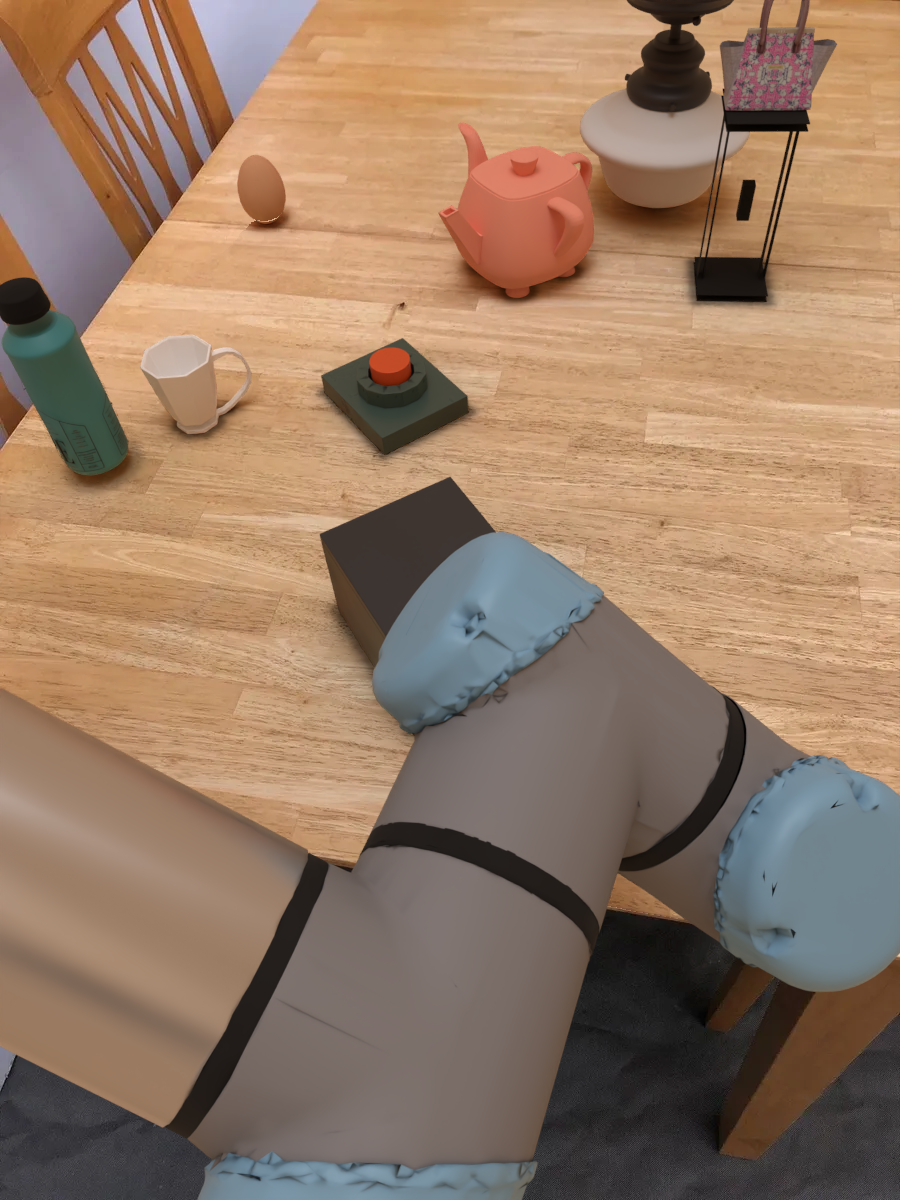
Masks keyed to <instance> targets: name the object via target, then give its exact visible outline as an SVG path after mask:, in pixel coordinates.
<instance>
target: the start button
mask: <svg viewBox="0 0 900 1200" xmlns="http://www.w3.org/2000/svg"><path fill="white" fill-rule="evenodd" d="M369 364H370V370H371V377H372V380H373V381H374V382H375V383H376V384H380V385H383V386H393V385H400V384H402V383H404V382H406V381H408V380H409V378H410V377H411V363H410V356H409V354H408V353H407V352H406V351H404V350H402V349H400V348H393V347H391V348H384V349H381V350H378V351H377V352H375V353H374V354H373V355H372V356H371V358H370V360H369Z"/></svg>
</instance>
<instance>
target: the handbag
mask: <svg viewBox="0 0 900 1200" xmlns="http://www.w3.org/2000/svg"><path fill="white" fill-rule="evenodd" d="M774 1H775V0H763V5H762V9H761V14H760V21H759V27H748V28H747V31H746V32H747V33H746V35H745V37H744V40H743V41H741V40H740V41H739V40H724V41H721V43H720V45H719V53H720V59H721V60H720V61H721V70H722V80H723V88H722V95H723V96H721V97H722V104H723V111H724V116H723V122H722V127H721V133H720V139H719V145H718V151H717V157H716V162H715V168H714V174H713V180H712V183H711V185H710V186H711V187H710V191H709V197H708V198H709V199H708V204H707V210H706V216H705V223H704V228H703V233H702V239H701V245H700V250H699V256H694V261H693V273H694V284H695V296H696V298H695V299H696V301H697V302H747V303H748V302H752V303H753V302H754V303H755V302H756V303H766V302H768V301H767V297H769V294H768V293H769V292H768V288H767V282H766V274H767V270H768V268H769V267H768V266H769V262H770V259H771V253H772V249H773V246H774V241H775V240H774V239H775V237H776V232H777V229H778V224H779V219H780V216H781V212H782V208H783V203H784V200H785V195H786V191H787V188H788V187H787V186H788V183H789V177H790V175H791V170H792V166H793V161H794V157H795V152H796V149H797V144H798V141H799V136H800V133H801V132H802V133H803V132H805V133H807V132H809V128H808V125H811V120H810V117H809V114H808V111H810V110H811V109H812V102H813V100H812V99H813V98H812V97H813V93H814V90H815V88H816V87H817V84H818V82H819V80H820V78H821V76H822V74H823V73H824V70H825V68H826V66H827V65H828V63H829V61H830V59H831V57H832V55H833V53H834V52H835V50H836V47H837V46H838V43H837V42H836V41H835V40H834V39H831V38H825V39H816V40H815V32H816V28H815V27H814V26H806V24H807V20H808V15H809V11H810V3H811V2H810V1H811V0H801V2H800V8H799V13H798V17H797V21H796V24H795V26H787V27H785V26H784V27H780V26H779V27H768V26H769V19H770V15H771V11H772V7H773V4H774ZM724 123H725V126H726V132H727V137H726V142H725V148H724V154H723V159H722V165H721V167H720V170H719V171H720V172H719V177H718V182H717V187H716V194H715V198H714V199H715V200H714V205H713V209H712V216H711V222H710V227H709V233H708V240H707V244H706V250H705V255H704V256H703V251H704V243H705V239H706V232H707V227H708V221H709V214H710V210H711V205H712V199H713V198H712V197H713V191H714V188H715V187H714V186H715V181H716V180H715V179H716V177H715V175H716V169H717V163H718V158H719V152H720V146H721V140H722V135H723V129H724ZM730 132H750V133H782V132H783V133H788V137H787V141H786V146H785V151H784V155H783V159H782V164H781V168H780V172H779V177H778V180H777V185H776V188H775V189H776V190H775V194H774V199H773V202H772V206H771V211H770V216H769V221H768V224H767V230H766V233H765V238H764V241H763V246H762V251H761V255H760V257H747V256H746V257H744V256H743V257H742V256H741V257H739V256H738V257H737V256H736V257H735V256H733V257H732V256H708V255H709V251H710V250H709V249H710V245H711V239H712V232H713V228H714V222H715V216H716V211H717V204H718V200H719V194H720V189H721V182H722V177H723V171H724V166H725V161H726V160H725V155H726V150H727V144H728V139H729V133H730ZM794 132H795V134H794ZM793 134H794V139H793V143H792V148H791V151H790V146H791V142H792V138H793ZM789 151H790V155H789ZM788 155H789V160H788ZM787 161H788V165H787V169H786V172H785V168H786V164H787ZM784 173H785V177H783V176H784ZM716 176H717V175H716ZM783 178H784V181H783ZM782 181H783V186H782ZM781 186H782V190H781ZM756 188H757V184H756V180H755V179H742V181H741V187H740V193H739V198H738V203H737V208H736V212H735V218H736V221H737V222H749V221H750V216H751V212H752V207H753V202H754V198H755V193H756ZM780 190H781V194H780ZM779 194H780V199H779ZM778 199H779V203H778ZM777 203H778V206H777ZM776 207H777V211H776ZM775 211H776V216H775ZM774 216H775V220H774ZM773 220H774V224H773ZM772 224H773V227H772ZM771 228H772V234H771V237H770V233H771ZM769 237H770V241H769ZM768 241H769V245H768ZM767 245H768V250H767ZM766 250H767V254H766ZM765 254H766V258H765ZM764 258H765V262H764Z"/></svg>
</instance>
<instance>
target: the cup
mask: <svg viewBox="0 0 900 1200" xmlns="http://www.w3.org/2000/svg"><path fill="white" fill-rule="evenodd" d="M226 355H232V356H233V357H236V358H237V359H239V360H241V361H242V363H243V365H244V367H245V370H246V375H245V376H246V377H245V380H244V382H243V384H242V385H241V386H240V388H239V389H238V390H237V392H236V393H235V394H234V395H233V396H232V398H231V399H229V401H227V402H226V403H225V404H224V405H223V406H221V407H217V406H218V385H217V378H216V371H215V363H214V362H216V361H217V360H219V359H221V358H222V357H225V356H226ZM139 369H140V370H141V372H142V373H143V375H144V377H145V378H146V380H147V381H148V383H149V385H150V386H151V388H152V390H153V392H154V393H155V395H156V396H157V399H158V400H159V402H160V403H161V405H162V406H163V408H165V410H166V412H168V414H169V415H170V416H171V417H172V419H173V420H175V421H176V427H177V428H178V429H179V430H181V431H182V432H184V434H185V433H186V434H187V435H196V434H206V433H207V432H208V431H209V430H210V431H211V429H213V428H214V427H216V426H217V425H218V422H219V416H223V415H225V414H227V413H228V412H229V411H231V409H233V408H234V407H235V406H236V405H237V404H238V402H240V401H241V399H242V398H243V397H244V396H245V394H246V393H247V392H248V390H249V388H250V386H251V385H252V376H253V373H252V371H251V368H250V365H249V364H248V362H247V360H246V359H245V357H244V356H243V354H242V353H241V351H239V350H236V349H235V348H234V347H230V346H229V347H227V346H223V347H220V348H215V349H212V344H210V343H209V342H207V341H206V340H204V339H202V338H201V337H199V336H197V335H196V334H182V335H170V336H169V335H167V336H165V337H163V338H161V339H160V340H159V341H156V343H154V344H152V345H150V346H149V347H147V348H145V349H144V351H143V355H142V357H141V362H140V367H139Z"/></svg>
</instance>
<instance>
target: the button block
mask: <svg viewBox="0 0 900 1200" xmlns="http://www.w3.org/2000/svg"><path fill="white" fill-rule="evenodd" d="M391 347H393V348H400V349H402V350H404V351H406V352H407V353H408V354H409V356H410V363H411V377H410V378H409V380H408V381H406V382H404V383H402V384H400V385H393V386H383V385H380V384H376V383H375V382H374V381H373V380H372V377H371V370H370V364H369V360H370V358H371V356H372V355H373V354H374V353H375V352H377V351H378V350H381V349H384V348H391ZM320 377H321V382H322V387H323V392H324V393H325V395H326V396H328V397H329V399H330V400H331V401H332V402H333V403H334V404H335V405H336V406H337V407H338V408H339V409H340V410H341V411H342V412H343V413H344V415H345V416H347V418H349V420H350V421H351V422H353V424H354V425H355V426H356V427H357V428H358V429H359V430H360V431H361V432H362V433H363V434H364V435H365V436H366V437H367V438H368V439H369V440H370V441H371V443H373V444H374V445H375V447H377V449H378V450H379V451H380V452H381V453H382V454H383V455H388V454H389V453H391V452H394V451H395V450H398V449H400V448H402V447H403V446H405V445H407V444H409V443H412V442H413V441H415V440H417V439H419V438H421V437H423V436H426V435H427V434H429V433H431V432H434V431H436V430H437V429H439V428H442V427H443V426H445V425H447V424H449V423H451V422H454V421H455V420H457V419H459V418H461V417H463V416H465V415H467V414H468V413H469V397H468V395H467V394H466V393H465V391H463V390H462V389H461V388H460V387H458V386H457V385H456V384H455V383H454V382H453V381H452V380H451V379H449V378H448V377H447V376H446V375H445V374H444V373H443V372H441V370H439V369H438V367H436V366H435V365H434V364H433V363H432V362H431V361H430V360H428V359H427V357H425V356H424V355H423V354H421V352H419V350H417V349H416V348H415V347H413V345H412V344H410V343H409V342H408V341H407V340H406V339H404V338H403V337H401V338H399V339H397V340H395V341H392V342H390V343H388V344H386V345H384V346H382V347H379V348H378V349H376V350H373V351H371V352H369V353H367V354H365V355H362V356H360V357H358V358H356V359H354V360H351V361H349V362H347V363H345V364H343V365H341V366H338V367H336V368H334V369H332V370H330V371H327V372H325V373H323V374H321V375H320Z"/></svg>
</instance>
